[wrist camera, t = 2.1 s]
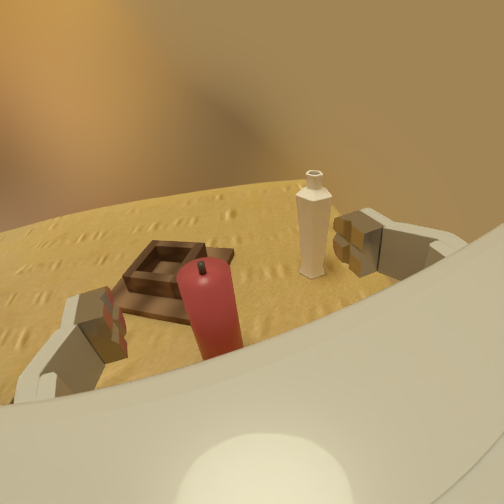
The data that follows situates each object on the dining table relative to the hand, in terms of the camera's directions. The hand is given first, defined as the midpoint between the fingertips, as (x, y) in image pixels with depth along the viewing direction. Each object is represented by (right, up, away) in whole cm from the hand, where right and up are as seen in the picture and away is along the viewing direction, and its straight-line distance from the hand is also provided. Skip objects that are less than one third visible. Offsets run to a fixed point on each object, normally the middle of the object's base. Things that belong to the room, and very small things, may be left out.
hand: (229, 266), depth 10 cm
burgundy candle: (-2, -12, +21) cm, 24 cm away
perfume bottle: (+10, -2, +33) cm, 35 cm away
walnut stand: (-12, -4, +34) cm, 36 cm away
